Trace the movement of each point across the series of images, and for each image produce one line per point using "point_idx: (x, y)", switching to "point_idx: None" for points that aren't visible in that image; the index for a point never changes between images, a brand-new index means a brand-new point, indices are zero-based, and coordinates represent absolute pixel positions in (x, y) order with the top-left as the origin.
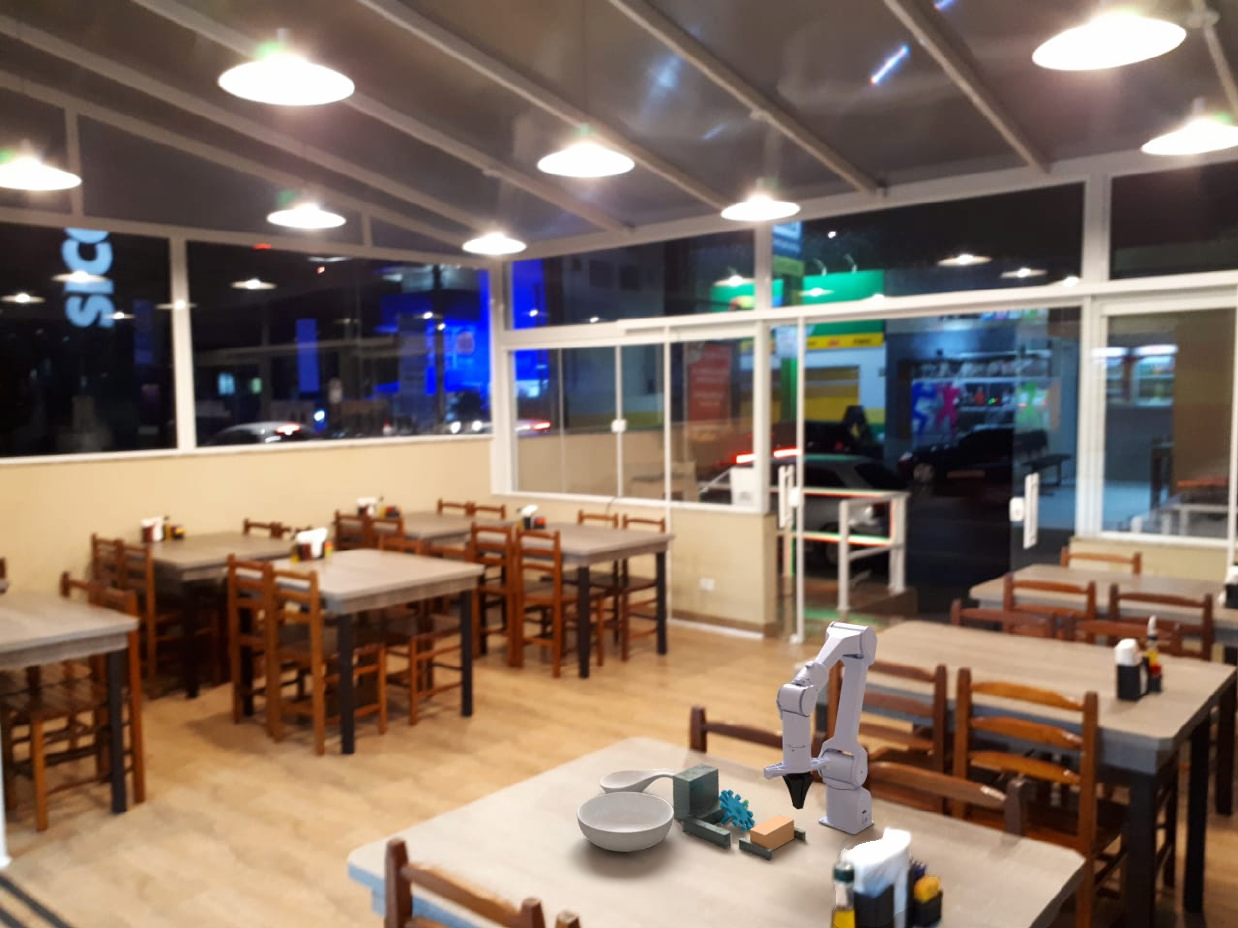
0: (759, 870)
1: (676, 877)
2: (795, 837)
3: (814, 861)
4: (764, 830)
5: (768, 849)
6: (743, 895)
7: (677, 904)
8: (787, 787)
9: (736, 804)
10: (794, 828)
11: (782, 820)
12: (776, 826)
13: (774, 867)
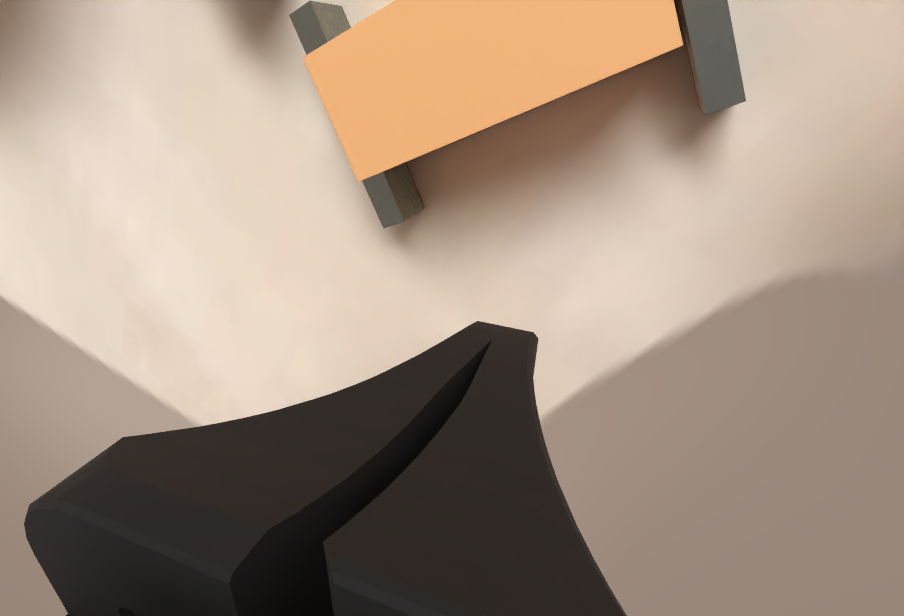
0: (336, 262)
1: (70, 153)
2: (687, 46)
3: (587, 326)
4: (379, 119)
5: (388, 210)
6: (241, 360)
7: (80, 297)
8: (343, 389)
9: None
10: (702, 20)
11: (583, 14)
12: (479, 100)
13: (398, 274)
